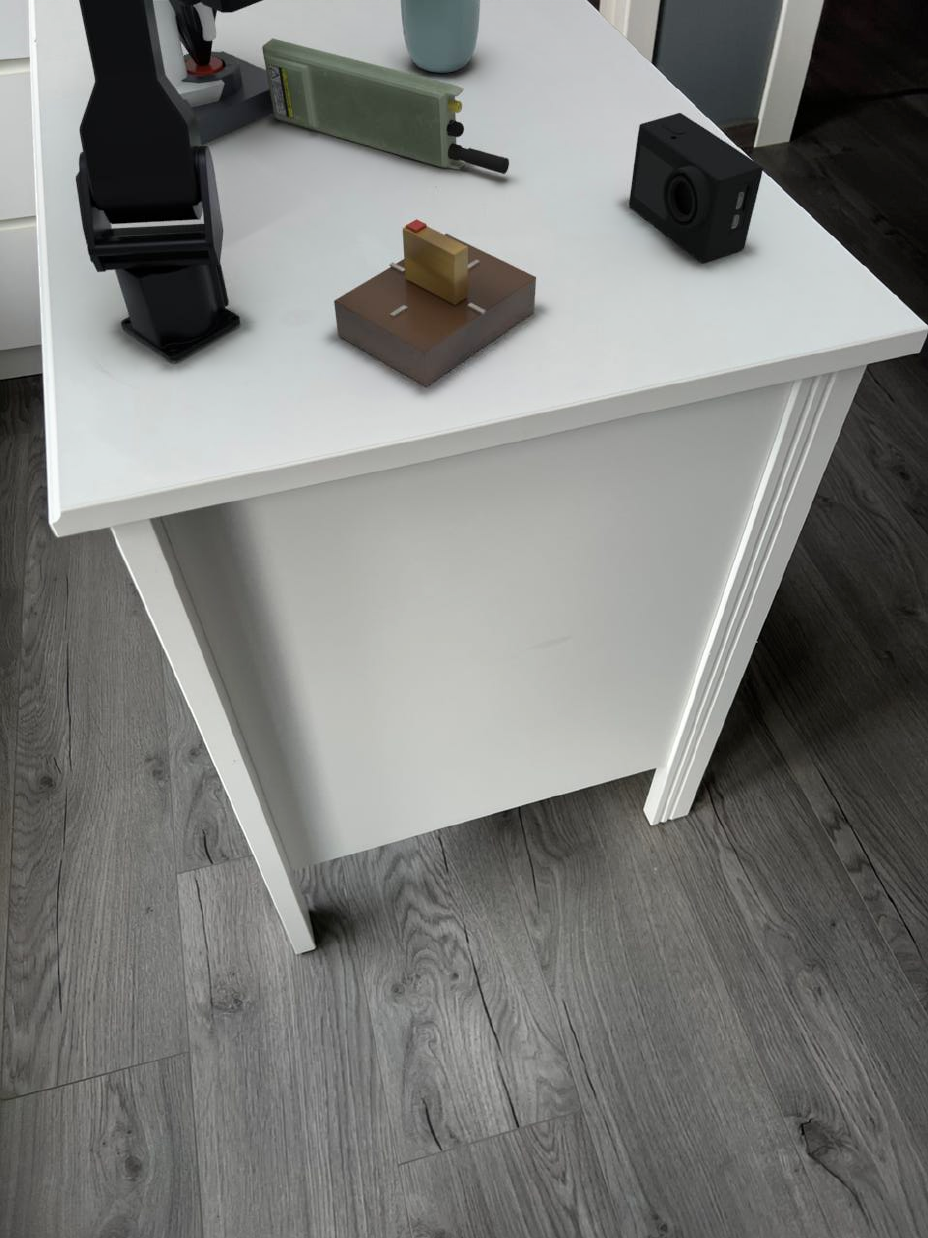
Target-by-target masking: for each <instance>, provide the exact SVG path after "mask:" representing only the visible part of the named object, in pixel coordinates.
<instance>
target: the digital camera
mask: <svg viewBox="0 0 928 1238" xmlns="http://www.w3.org/2000/svg"><path fill="white" fill-rule="evenodd" d="M632 169H633V171H632V177H631V186H630V193H629V201H628V206H629V207H631V209H633V210H634V211H636V212H637V213H638V214H639V215H641V216H642V217H643V218H644V219H646V221H648V222H650V223H651V224H652V226H654V227H656V228H657V229H658V230H659V231H661V232H662V233H663V234H665V235H666V236H667V237H668V238H670V239H671V240H672V241H673V242H674V243H676V244H677V245H678V246H680V247H681V248H683V249H684V250H685V251H687V252H688V253H689V254H690V255H692V256H693V257H694V258H695V259H697V260H698V261H700V262H701V263H702V264H703V263H704V264H705V263H707V262H710V261H711V262H712V261H713V260H717V259H719V258H721V257H722V258H723V257H725V256H728V255H731V254H733V253H736V252H739V251H742V250H744V249H745V247H746V244H747V243H746V242H747V239H748V234H749V231H750V226H751V222H752V217H753V214H754V209H755V205H756V201H757V198H758V197H757V196H758V193H759V190H760V189H759V188H760V184H761V180H762V175H763V171H764V167H763V166H761V164H759V163H757V162H756V161H755V160H753V159H752V158H750V157H748V156H747V155H745V154H744V153H743V152H741V151H740V150H739V149H737V148H735V147H734V146H733V145H731V144H730V143H728V142H727V141H725V140H723V139H722V138H720V137H718V136H717V135H716V134H714V133H713V132H712V131H709V130H708V129H707V128H705V127H703V126H702V125H700V124H699V123H698V122H696V121H694V120H692V119H691V118H689V117H688V116H687V115H685V114H683V113H682V112H677V113H675V114H670V115H667V116H663V117H660V118H656V119H653V120H650V121H647V122H643V123H640V124H639V126H638V131H637V139H636V147H635V155H634V163H633V168H632Z"/></svg>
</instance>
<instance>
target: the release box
mask: <svg viewBox="0 0 928 1238" xmlns="http://www.w3.org/2000/svg"><path fill="white" fill-rule="evenodd" d="M183 56H184V61H185V62H186V61H188V60H189V59H192V58H191V56H190V55H189V53H186V54H183ZM211 56H212V57H216V58H219V59H220V60H221V61H222V63H223V70H222V71H220V72H218V73H215V74H212V75H205V76H194V75H188V74H187V78H185V79H183V80H181V81H182V82H191V83H205V82H212V81H218V80H222V81H223V82H224V83H225V84H224V87H223V90H222V93H221V96H220V99H219V101H216V102H212V103H208V104H204V105H200V106H196V107H192V109H193V111H194V112H195V115H196V119H197V123H198V128H199V134H200V139H201V145H202V146H204V145H205V144H208V143H210V142H213V141H214V140H216V139H219V138H221V137H223V136H225V135H228V134H230V133H231V132H234V131H236V130H238V129H240V128H242V127H244V126H246V125H249V124H251V123H253V122H256V121H259V120H260V119H262V118H264V117H267V116H269V115H270V114H274V112H273V106H272V101H271V95H270V89H269V84H268V78H267V72H266V68H265V69H264V68H263V67H260V66H258V65H255V64H253V63H252V62H251V63H250V62H248V61H246V60H244V59H241V58H239V57H238V56H234V55H233V54H230V53H228V52H226V51H224V50H221V51H212V50H211Z"/></svg>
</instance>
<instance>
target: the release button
mask: <svg viewBox="0 0 928 1238" xmlns="http://www.w3.org/2000/svg"><path fill="white" fill-rule="evenodd" d="M185 66H186V71H187V73H188V74H191V75H195V76H205V75H211V74H214V73H218V72H220V71H222V70H223V63H222V61H221V60H220V59H219V58H216V57H212V56H211V58H210V63H209V64H207V65H205V66H199V65H197V64H196V63H195V62H194V61H193V59H189V60H188V61H186V62H185Z"/></svg>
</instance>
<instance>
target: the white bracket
mask: <svg viewBox="0 0 928 1238" xmlns="http://www.w3.org/2000/svg"><path fill="white" fill-rule="evenodd" d="M153 5H154V11H155V17H156V23H157V29H158V35H159V41H160V46H161V52H162V58H163V64H164V69H165V74H166V76H167V78H168V79H169V81H170V82H171V83H172V85H173V86H174V87H175V89H176V90H177V91H178V93H179V94H180V96H181V97H182V98H183V100H184V99H186V100H187V101H188V103H189V104H190V106H191V107H196V106H200V105H204V104H208V103H212V102H216V101H219V99H220V96H221V93H222V90H223V87H224V84H225V83H224V82H223V81H222V80H218V81H212V82H205V83H191V82H182V81H181V80H183V79H185V78H187V74H188V73H187V71H186V66H185V61H184V52H183V48H182V43H181V41H180V37H179V33H178V28H177V23H176V18H175V16H176V15H175V12H174V9H173V7H172V5H171V3H170V2H169V0H153ZM193 6H194V7H195V8H196V10H197V11H198V13H199V16H200V19H201V23H202V27H203V39H204V40H206V41H212V40H213V41H214V40H215V39H216V38H217V27H216V20H215V21H214V17H213V12H212V8H210V7H207V6H205V5H203V4H202V2H201V3H198V4H195V5H193ZM214 74H215V73H214ZM188 75H191V74H188ZM211 75H212V74H211ZM194 76H195V75H194Z"/></svg>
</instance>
